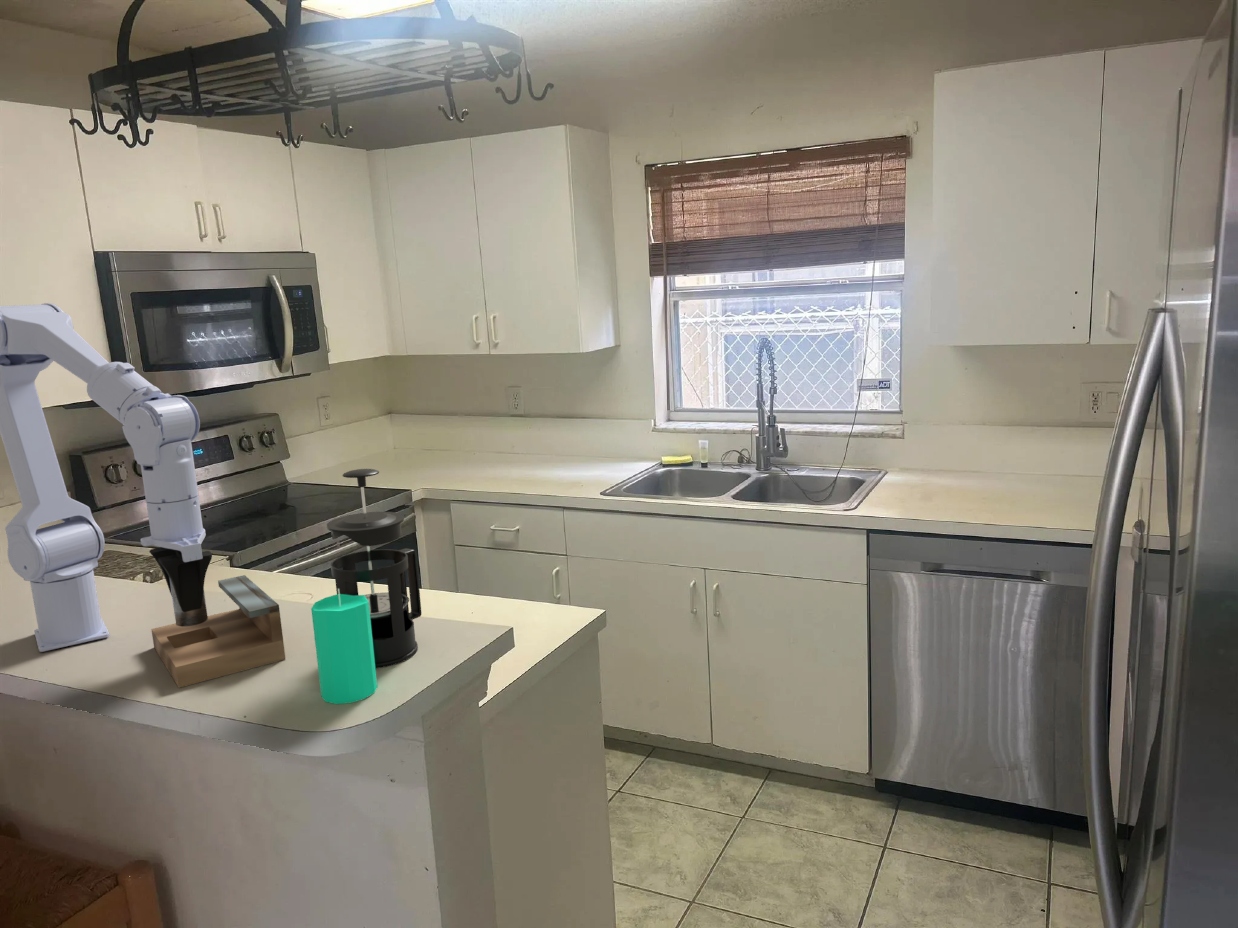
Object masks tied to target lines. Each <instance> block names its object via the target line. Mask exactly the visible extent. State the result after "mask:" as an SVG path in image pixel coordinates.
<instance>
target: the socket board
mask: <svg viewBox="0 0 1238 928" xmlns="http://www.w3.org/2000/svg"><path fill="white" fill-rule="evenodd" d="M217 581H218V582H217V583H218V584H217V585H218V587H219V589H220V590H222V592H224V593H225V594H226V595H227V596H228V597H229V598H230V599H231V600H232V602H234V603H235V605H237V606H238V609H237V608H236V609H232V610H229V611H225V612H219V613H217V614H211V615H207V616H208V620H207V621H205V622H203V623H201V624H197V625H193V626H185V627H182V626H177V625H176V622H175V623H172V624H167V625H163V626H158V627H154V628H151V636H152V643H153V648H154V650H155V651H156V653H157V655H158V656H159V658H160V660H161V661H162V662H163V664H164V666H165V667H166V669H167V671H168V672H169V674H170V676H171V677H172V680H173V681H174V683H175V684H176V686H177V687H178V688H182V687H183V688H184V687H186V686H191V685H194V684H198V683H202V682H206V681H209V680H213V679H216V678H220V677H224V676H228V675H232V674H236V673H239V672H243V671H247V670H251V669H255V668H259V667H262V666H265V665H269V664H272V663H273V664H274V663H277V662H281V661H284V660H286V652H285V645H284V644H285V643H284V636H283V629H282V628H283V627H282V618H281V611H280V604H278V602H276V601H275V600H274V599H273V598H271V596H270V595H268V594H267V593H266V592H265V591H264V590H262V589H261V588H260V587H259V586H258V585H257V584H256V583H255V582H254V581H253V580H251V578H249V577H247V576H246V574H244V575H238V576H233V577H229V578H225V579H220V580H217Z"/></svg>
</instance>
